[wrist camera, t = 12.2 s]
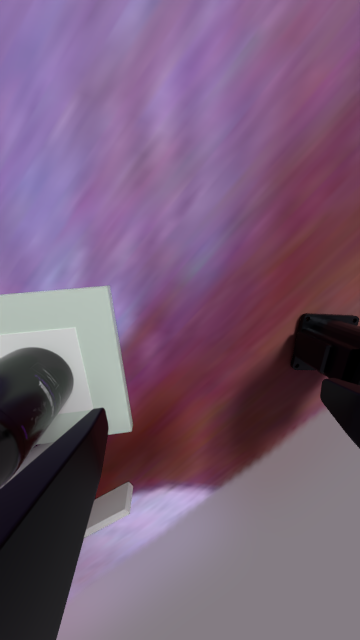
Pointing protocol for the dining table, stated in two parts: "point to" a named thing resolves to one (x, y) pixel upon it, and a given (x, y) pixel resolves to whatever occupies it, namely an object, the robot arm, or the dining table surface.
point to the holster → (103, 507)
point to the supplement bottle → (29, 402)
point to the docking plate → (73, 349)
